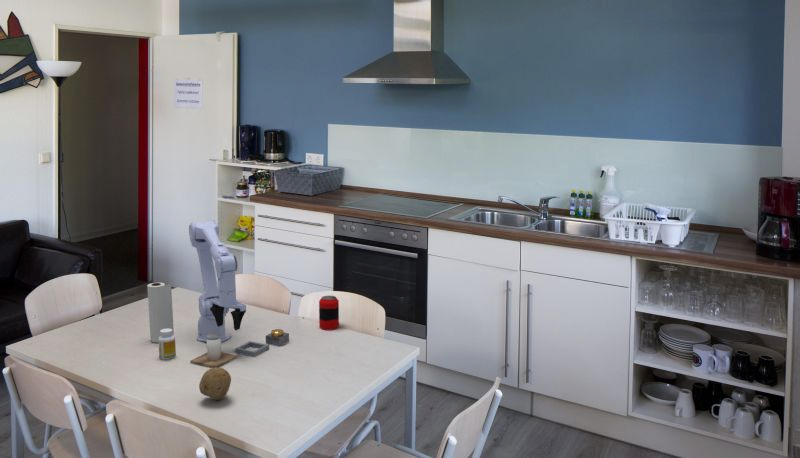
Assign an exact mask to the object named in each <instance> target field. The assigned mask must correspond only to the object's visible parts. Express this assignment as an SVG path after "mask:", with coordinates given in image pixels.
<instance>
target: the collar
mask: <svg viewBox="0 0 800 458" xmlns="http://www.w3.org/2000/svg"><path fill="white" fill-rule="evenodd" d="M250 347H252V348H257V349H255V350H249V349H248V348H250ZM267 350H270V344H266V343H261V342H255V341H252V340H250V341H248V342H245V343H243V344H241V345H239V346H238V347H236V348H234V353H235V354H240V355H245V356H250V357H254V358H255V357H256V356H259V355H260V354H262V353H265V352H266V351H267Z"/></svg>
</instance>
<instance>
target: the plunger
mask: <svg viewBox="0 0 800 458" xmlns="http://www.w3.org/2000/svg"><path fill="white" fill-rule="evenodd" d="M283 332H284V330H283V329H282V328H281V329H280V328H279V329H278V328H276V329H271V331H270V333H271V335H272V336H282V335H283Z"/></svg>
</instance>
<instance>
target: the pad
mask: <svg viewBox="0 0 800 458" xmlns="http://www.w3.org/2000/svg"><path fill="white" fill-rule="evenodd" d="M236 359H238V355H237V354H233V353H227V352H223V351H221V358H220V359H218V360H208V357H207V352H205V353H204V354H202V355H198V356H197V357H195V358H192V359H191V360H189V362H190V363H189V364H193V365H199V366H202V367H207V368H210V369H211V368H215V367H217V368H221V367H222V366H224V365H226V364H228V363H230V362H231V361H232V362H233V361H234V360H236Z"/></svg>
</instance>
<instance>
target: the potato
mask: <svg viewBox="0 0 800 458" xmlns="http://www.w3.org/2000/svg"><path fill="white" fill-rule="evenodd" d="M231 381H232V376H231V374H230V373H229V371H227V370H226V369H224V368H223V367H219V368H217V367H215V368H211V367H210V368H209V369H207V370H206V371H205V372H204V373H203V375H202V376H201V378H200V381H199V383H198V384H199V385H198V387H199V392H200V393H201V394H202V395H203V396H205V397H209V398H211V399H212V400H214V401H220V400H222V399H223V398H225V396H226V395H227V394H228V392H229V390H230V387H231V383H232V382H231Z"/></svg>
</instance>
